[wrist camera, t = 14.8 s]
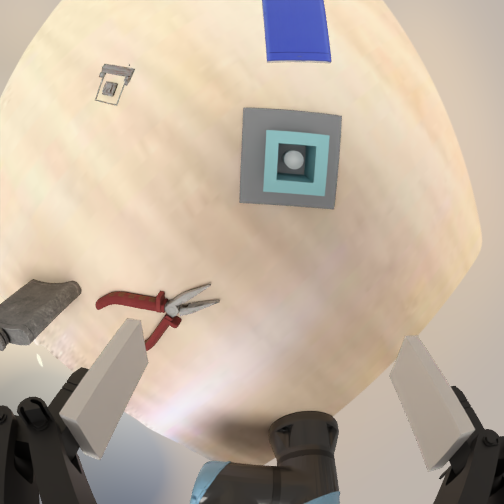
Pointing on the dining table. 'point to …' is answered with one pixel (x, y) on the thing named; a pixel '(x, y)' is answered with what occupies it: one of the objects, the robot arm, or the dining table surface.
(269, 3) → the hard drive
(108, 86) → the grey rectangular frame
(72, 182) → the dining table surface
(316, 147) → the block with square hole
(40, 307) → the flask
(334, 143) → the pin base
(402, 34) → the dining table surface
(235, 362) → the dining table surface
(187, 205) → the dining table surface
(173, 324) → the pliers
